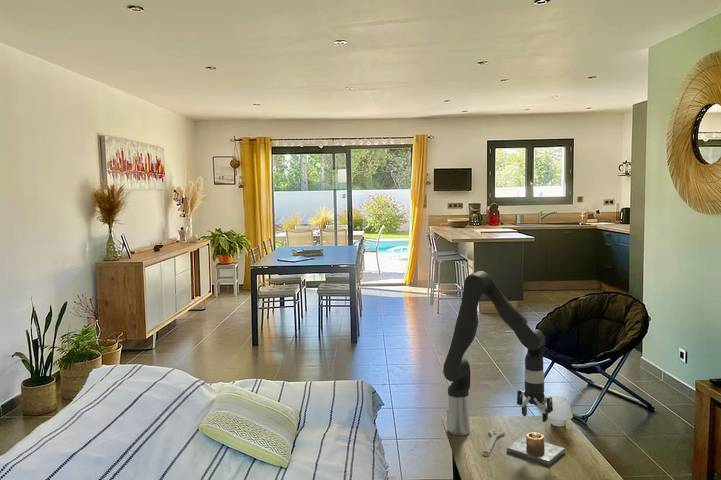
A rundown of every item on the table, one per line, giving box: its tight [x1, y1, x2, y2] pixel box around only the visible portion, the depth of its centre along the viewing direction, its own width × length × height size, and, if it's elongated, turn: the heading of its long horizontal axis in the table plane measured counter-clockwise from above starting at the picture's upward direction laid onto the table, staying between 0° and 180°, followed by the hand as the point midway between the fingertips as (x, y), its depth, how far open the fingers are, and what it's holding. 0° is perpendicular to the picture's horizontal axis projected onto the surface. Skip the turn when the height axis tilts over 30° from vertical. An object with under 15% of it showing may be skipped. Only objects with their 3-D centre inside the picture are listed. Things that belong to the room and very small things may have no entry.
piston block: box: [506, 432, 566, 467], centre depth 215 cm, size 18×14×8 cm
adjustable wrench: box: [482, 428, 505, 457], centre depth 226 cm, size 25×6×2 cm, turn 149°
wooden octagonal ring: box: [525, 431, 545, 451], centre depth 215 cm, size 6×6×5 cm
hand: (534, 418), depth 215 cm, fingers open, 8 cm apart
